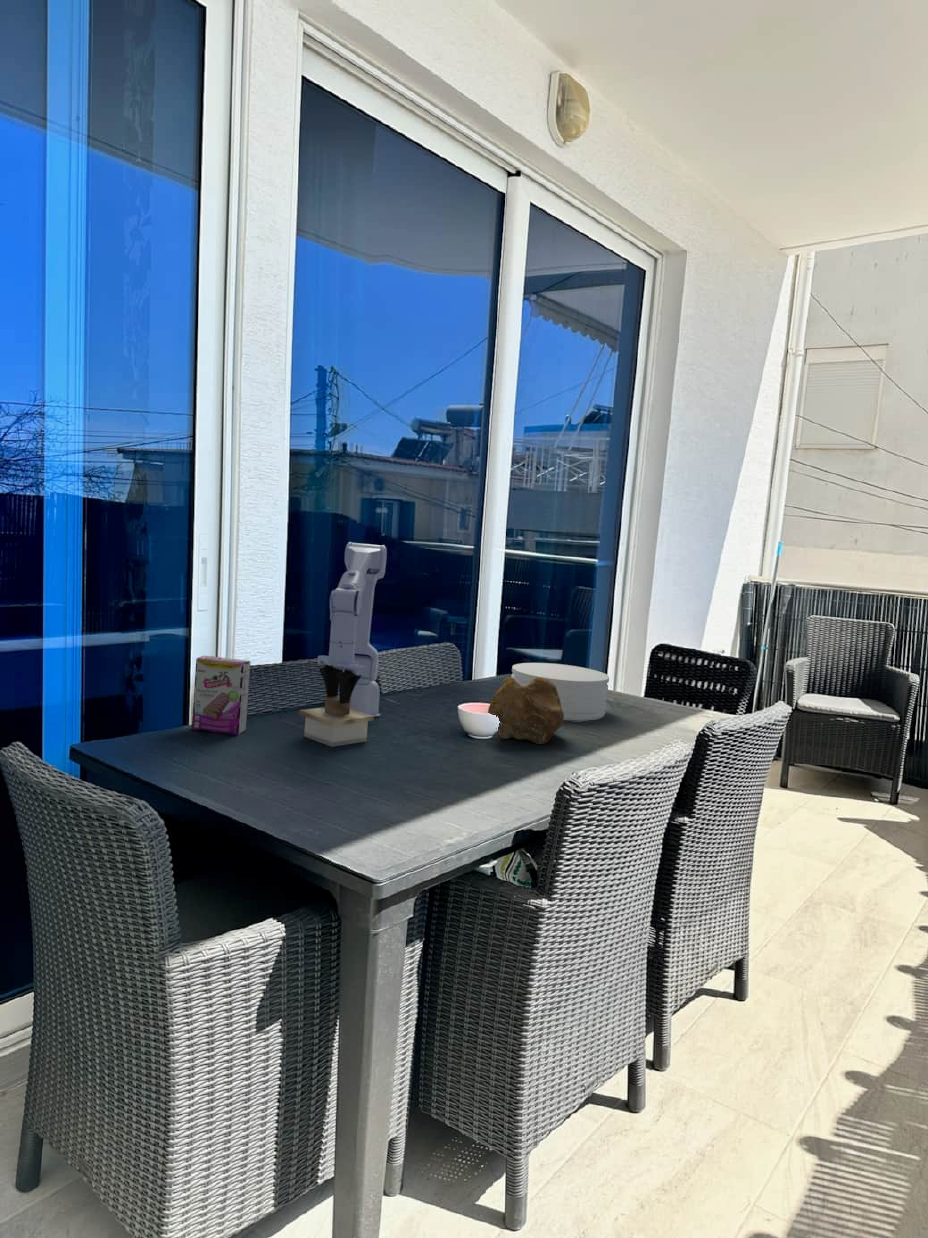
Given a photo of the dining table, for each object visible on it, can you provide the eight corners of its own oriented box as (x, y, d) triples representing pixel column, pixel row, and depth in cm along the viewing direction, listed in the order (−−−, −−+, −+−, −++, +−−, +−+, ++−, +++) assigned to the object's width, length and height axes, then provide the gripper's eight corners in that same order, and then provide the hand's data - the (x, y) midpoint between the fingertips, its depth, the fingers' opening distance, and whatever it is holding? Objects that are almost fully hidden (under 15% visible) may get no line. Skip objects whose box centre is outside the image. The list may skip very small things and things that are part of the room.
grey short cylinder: (492, 699, 262) (495, 662, 261) (572, 699, 274) (575, 663, 273) (538, 722, 237) (542, 681, 236) (624, 721, 249) (628, 681, 248)
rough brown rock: (530, 756, 204) (542, 694, 202) (474, 734, 214) (485, 675, 212) (581, 745, 222) (592, 688, 220) (527, 726, 232) (538, 671, 230)
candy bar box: (190, 730, 197) (194, 658, 195) (199, 725, 202) (203, 654, 200) (239, 735, 196) (243, 663, 194) (246, 730, 201) (251, 659, 199)
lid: (340, 709, 208) (341, 690, 208) (373, 720, 200) (375, 701, 200) (299, 714, 200) (300, 695, 199) (332, 726, 191) (333, 706, 191)
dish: (338, 731, 208) (340, 710, 207) (366, 741, 201) (368, 719, 200) (304, 736, 200) (305, 714, 200) (331, 746, 194) (333, 724, 193)
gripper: (308, 637, 200) (304, 696, 201) (349, 647, 190) (344, 709, 192) (333, 636, 205) (328, 693, 207) (374, 646, 195) (369, 706, 197)
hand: (338, 700), depth 200 cm, fingers closed on lid, 4 cm apart
